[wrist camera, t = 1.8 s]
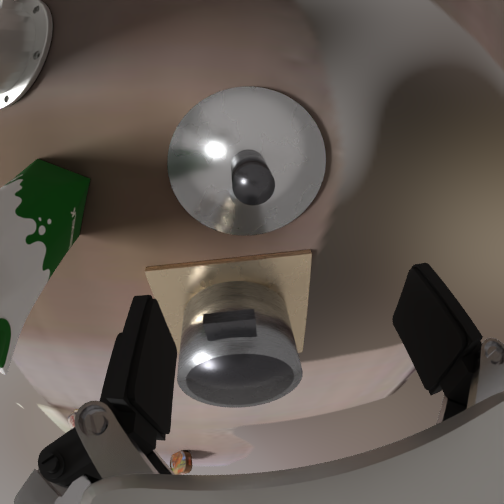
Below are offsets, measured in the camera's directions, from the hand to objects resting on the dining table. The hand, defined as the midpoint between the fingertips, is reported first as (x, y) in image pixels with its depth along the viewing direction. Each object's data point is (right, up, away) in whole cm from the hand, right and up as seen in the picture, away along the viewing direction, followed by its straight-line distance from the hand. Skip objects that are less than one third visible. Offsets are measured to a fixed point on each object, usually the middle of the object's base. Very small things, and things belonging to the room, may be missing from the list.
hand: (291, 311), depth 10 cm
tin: (-26, -66, +64) cm, 95 cm away
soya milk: (-22, +8, +14) cm, 27 cm away
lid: (-2, +10, +15) cm, 18 cm away
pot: (-3, -6, +25) cm, 26 cm away
